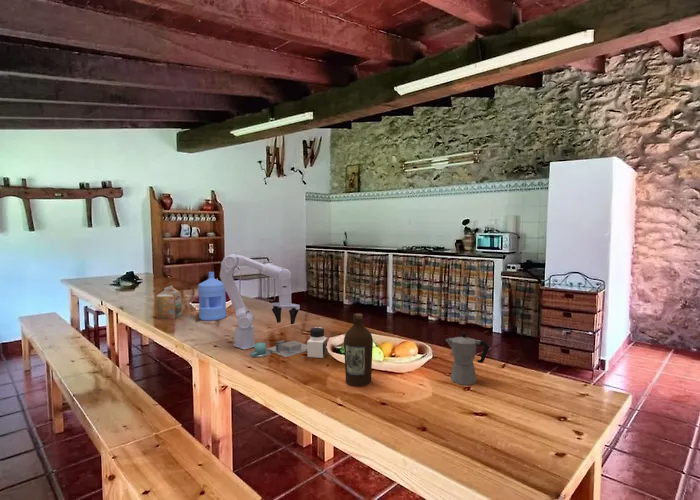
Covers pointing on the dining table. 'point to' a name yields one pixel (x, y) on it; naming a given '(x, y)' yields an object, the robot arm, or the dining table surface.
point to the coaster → (261, 355)
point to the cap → (259, 349)
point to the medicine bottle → (317, 343)
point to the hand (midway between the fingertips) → (285, 323)
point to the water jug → (212, 299)
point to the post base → (289, 353)
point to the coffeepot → (465, 358)
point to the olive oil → (358, 353)
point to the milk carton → (169, 304)
